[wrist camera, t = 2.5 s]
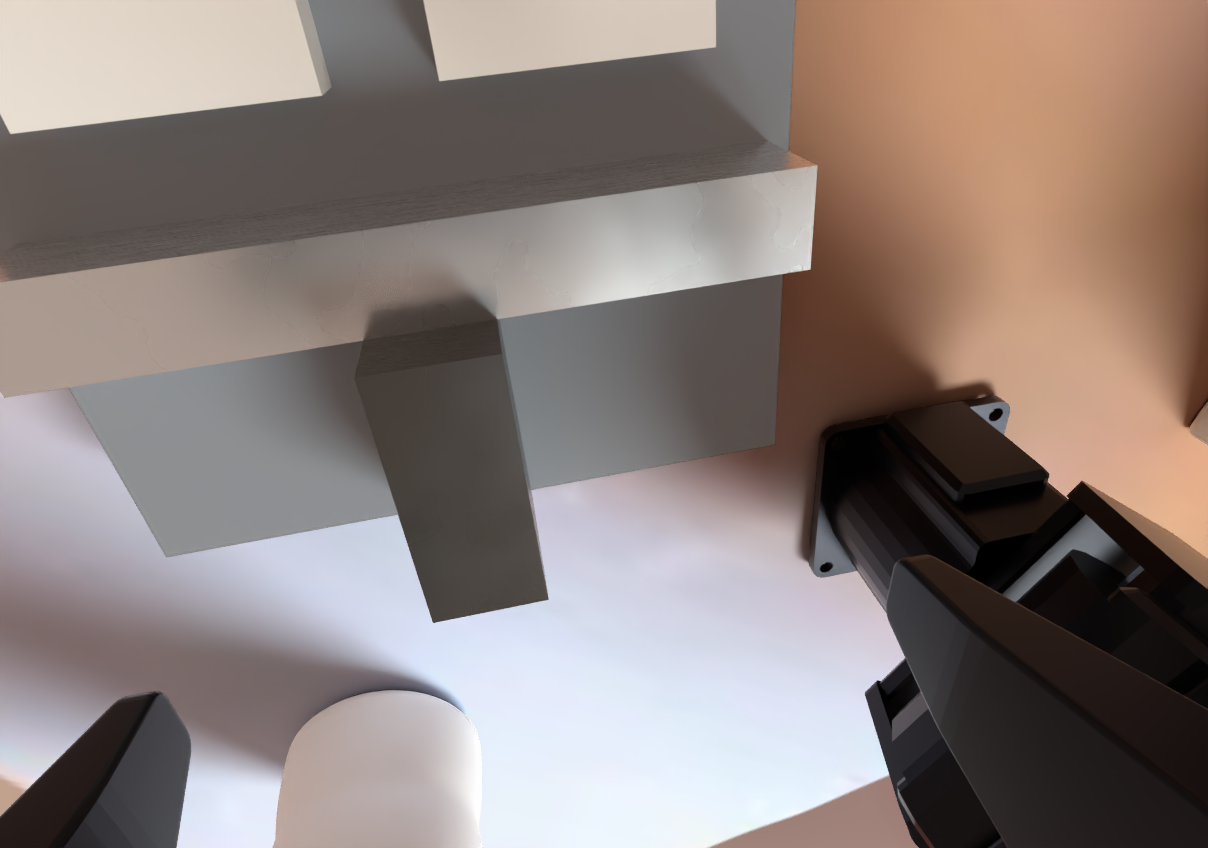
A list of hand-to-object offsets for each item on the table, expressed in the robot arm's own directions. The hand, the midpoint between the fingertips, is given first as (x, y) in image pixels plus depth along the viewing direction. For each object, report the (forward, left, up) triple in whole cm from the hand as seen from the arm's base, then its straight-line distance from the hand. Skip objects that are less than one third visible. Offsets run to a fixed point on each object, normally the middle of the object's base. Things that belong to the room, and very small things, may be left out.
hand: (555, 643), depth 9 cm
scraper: (-1, +1, -9) cm, 9 cm away
